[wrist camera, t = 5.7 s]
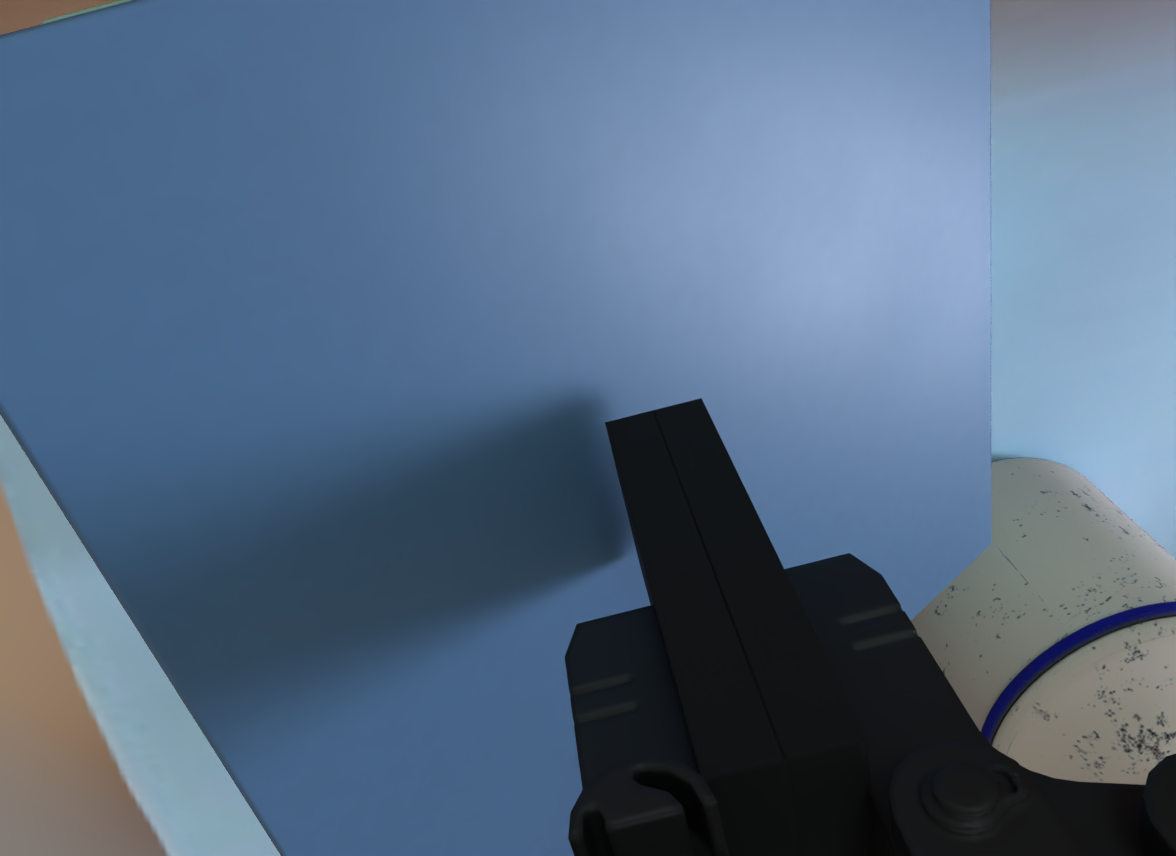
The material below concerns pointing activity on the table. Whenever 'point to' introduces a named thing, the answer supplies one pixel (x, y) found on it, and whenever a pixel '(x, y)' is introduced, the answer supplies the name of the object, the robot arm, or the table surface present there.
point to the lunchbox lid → (478, 349)
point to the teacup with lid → (1062, 630)
